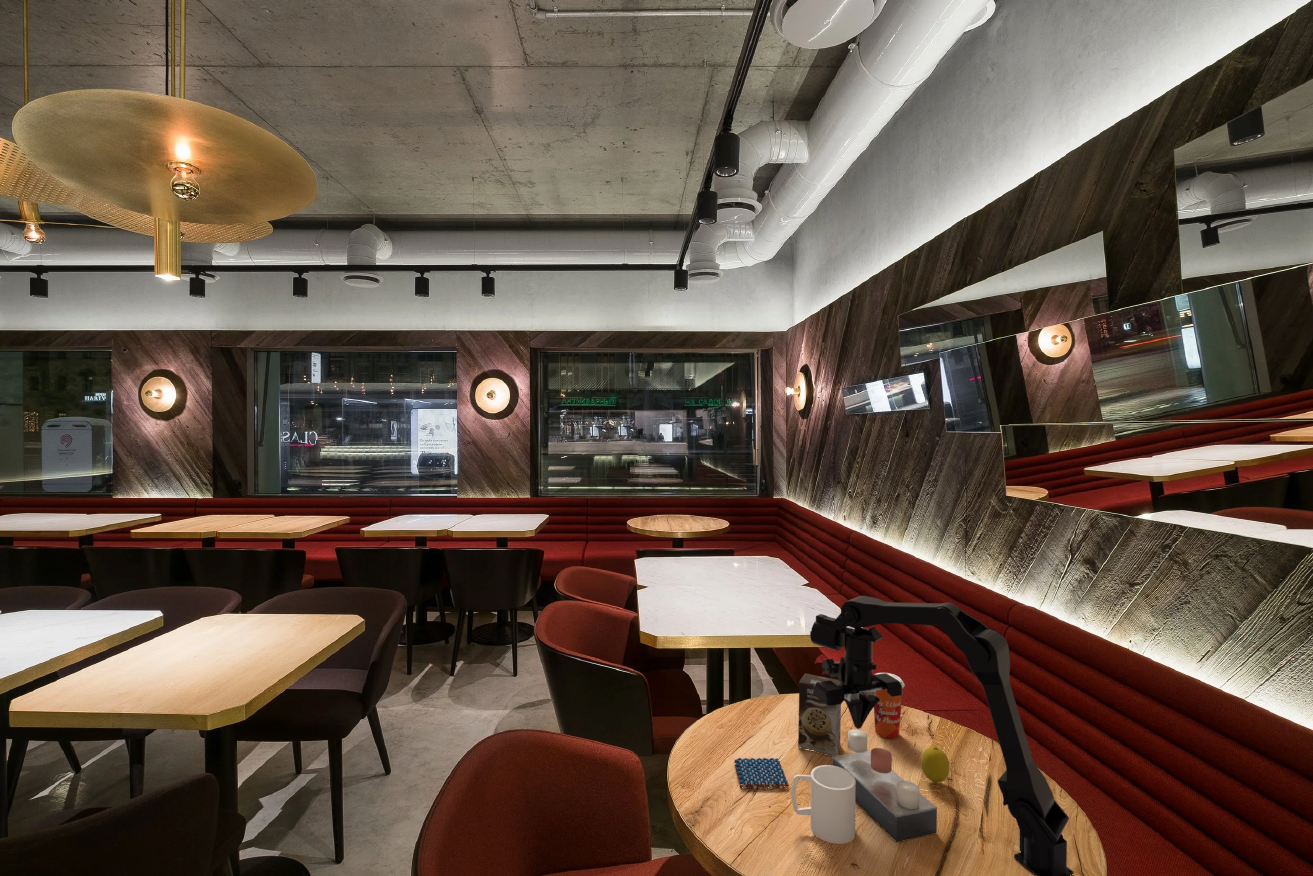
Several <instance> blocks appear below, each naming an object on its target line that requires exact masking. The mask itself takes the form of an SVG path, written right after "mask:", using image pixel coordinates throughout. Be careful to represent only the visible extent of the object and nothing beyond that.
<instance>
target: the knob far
mask: <svg viewBox="0 0 1313 876" xmlns="http://www.w3.org/2000/svg"><path fill="white" fill-rule="evenodd" d="M847 748H848V749H849V750H850V751H851V752H853V753H855V752H858V753H863V752H866V751H867V750H868V733H867V732H866V731H864V730H861V729H857V728H855V729H849V730H848V732H847Z"/></svg>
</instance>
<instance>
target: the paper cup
mask: <svg viewBox="0 0 1313 876" xmlns="http://www.w3.org/2000/svg"><path fill="white" fill-rule="evenodd" d="M884 673H885V672H877V673H874V675H876V674H884ZM886 673H887V674H888V675H890V676H892V677H893V678H895V679H897V680H898V681H899V682H900V683H901V685H902V689H904V687H905V686H906V685H905V683H904V681H903V680H902V679H901V677H899V676H898V675H896V674H894V673H889V672H886ZM876 697H878V698H879V699H880V702H877V703H876V704H875V706H874V707H873V716H874V719H873V720H874V731H875V733H876V735H877V736H879V737H881V738H883V739H889V740H895V739H898V738H899V735H900V729H901V728H900V727H901V715H902V701H903V699H902V698H903V694H902V695H900V696H893V697H891V696H890V695H889V694H888V693H887V689H884V690H877V691H876Z"/></svg>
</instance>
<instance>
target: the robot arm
mask: <svg viewBox="0 0 1313 876" xmlns="http://www.w3.org/2000/svg"><path fill="white" fill-rule="evenodd" d="M881 624H882V625H883V624H893V625H894V624H896V625H897V624H898V625H899V624H900V625H916V626H917V625H918V626H919V625H920V626H935V627H936V626H939V628H941V629H942V630H943V631H944V633H945V634H946V635H947V637H948V638H949V639H950V641H951V643H953V645H954V647H956V648H957V649H958V650H960V651H961V652H962V653H963V655H964V658H965V660H966V662H967V664H968V666H969V668H970V671H971V672H972V673H973V675H974V676H975V677H976V679H977V681H978V682H979V683H980V684H981V686H982V688H983V691H984V694H985V697H986V698H985V699H986V702H987V704H988V709H989V711H990V715H991V719H992V723H993V726H994V729H995V734H996V736H997V739H998V743H999V746H1000V751H1001V754H1002V757H1003V761H1004V764H1005V771H1004V772H1003V773H1002V774H1001V776H999V778H998V780H997V784H998V787H999V790H1000V792H1001V794H1002V799H1003V800H1002V801H1003V802H1002V804H1003V805H1002V806H1007V810H1008V811H1009V813H1010V815H1011V816H1012V817H1013V818H1014V819H1015V820H1016V824H1017V826H1018V829H1019V852H1018V853H1014V855H1013V857H1014V860H1016V861H1017V862H1019V863H1020V864H1021V865H1022V866H1023V867H1025V868H1026V869H1027V870H1028V871H1030V872H1031V873H1032V874H1033V875H1035V876H1070V875H1072V874H1073V875H1074V870H1072V869H1071V868H1069V867H1068V866H1067V864H1068V863H1067V862H1068V858H1067V856H1068V855H1067V854H1068V853H1067V852H1068V841H1067V840H1066V839H1065V838H1064V836H1063V834H1062V833H1063V831H1064V830H1065V827H1066V826H1067V824H1068V822H1069V820H1070V817H1069V815H1067V812H1065V811H1064V809H1063V808H1062V807H1061V806H1060V805H1059V804H1058V802H1057V801H1056V799H1055V797H1054V794H1053V791H1052V790H1051V788H1050V787H1051V786H1050V785H1049V783H1048V781H1047V779H1046V777H1045V775H1044V774H1043V773H1042V772H1041V770H1040V769H1039V768H1038V767H1037V765H1036V764H1035V762H1034V760H1033V757H1032V753H1031V748H1030V746H1029V741H1028V739H1027V736H1026V733H1025V729H1024V726H1023V723H1022V719H1021V716H1020V712H1019V709H1018V706H1017V702H1016V699H1015V696H1014V692H1013V689H1012V685H1011V682H1010V671H1011V660H1010V659H1011V658H1010V649H1009V644H1008V641H1007V639H1006V638H1005V637H1004V635H1003V634H1000V633H999V632H997V631H996V630H992V629H991V628H989V627H988V626H987V625H986V624H985V623H983V622H982V621H980V620H978V619H977V618H975V617H974V616H972V615H970V614H968V613H966V612H965V611H964V610H962V608H960V607H959V606H958V605H956V604H954V603H952V602H950V601H949V602H944V603H932V602H930V603H929V602H928V603H927V602H926V603H925V602H889V601H885V600H882V599H880V598H877V597H873V596H872V597H871V596H867V595H860V596H857V597H854V598H852V599H849V600H846V601H845V602H843V604H842V605H841V608H840V613H839V615H838V616H836V618H835V617H830V616H827V615H825V614H824V613H820V614H818V615H816V616H815V620H814V622H813V624H812V627H811V630H810V631H809V635H810V636H809V638H810V641H811V643H813V645H816V646H820V647H823V648H826V649H830V650H833V651H838V652H839V651H840V650H841V649H842V648H844V656H840V659H839V661H834V659H833V658H824V659H822V665H821V666H822V673H823V674H824V675H830V676H829V677H830V678H831V679H834V678H837V680H839V681H840V682H842V683H844V684H842V685H841V686H837V685H836V684H835V683H833V682H832V681H831V680H830V681H822V682H817V683H816V684H815V685H814V695H815V696H816V697H818V698H819V699H820V700H821V701H823V702H824V703H825V704H826V705H830V706H831V705H838V704H841V705H842V704H843V702H845V704H846V706H847V709H848V712H849V714H850V717H851V720H852V723H853V725H854V728H855V729H856V730H861V728H862V727H863V725H864V723H865V722H866V720H867V718H868V716H869V715H870V713H871V712H872V710H874V706H875V704H876V703H877V702H880V699H879V698H878V697H876V691H877V690H884V689H887V693H888V694H889V695H890V696H891V697H893V696H900V695H902V696H903V688H902V685H901V683H900V682H899V681H898V680H897V679H895V678H893V677H892V676H890V675H888V674H887V673H888V672H883V673H884V674H877V673H875V674H876V675H875V674H873V670H877V664H876V663H874V662H873V645H874V643H875V642H878V641H879V640H881V639H882V640H883V638H884V636H883V635H882V634H881V632H879V631H878V630H877V628H876V625H881ZM872 626H873V627H872ZM866 627H867V628H866ZM868 627H871V628H868Z"/></svg>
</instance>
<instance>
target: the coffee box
mask: <svg viewBox="0 0 1313 876" xmlns="http://www.w3.org/2000/svg"><path fill="white" fill-rule="evenodd" d="M830 680H831V681H832V682H833V683H835V684H836V685H837V686H841V685H843V682H840V681H839V680H838V679H836V678H831V677H825V676H820V675H815V674H811V673H804V675H803V676H802V677H801V678H800V680H799V681H798V731H797V732H798V735H797V737H798V738H797V740H798V741H797V747H801V748H804V749H803V750H805V749H809V750H814V751H816V752H819V753H818V754H820V753H823V754H822V755H824V754H827V755H826V756H828V755H830V756H829V757H832V756H837V755H838V753H839V751H838V750H840V747H841V727H842V726H841V725H842V724H841V723H842V721H841V720H842V717H841V716H842V704H838V705H831V706H830V705H826V704H825V703H824V702H823V701H821V700H820V699H819V698H818V697H816V696H815V695H814V685H815V684H816V683H817V682H822V681H830ZM801 748H800V749H801ZM809 750H808V751H809ZM816 752H815V753H816Z"/></svg>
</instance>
